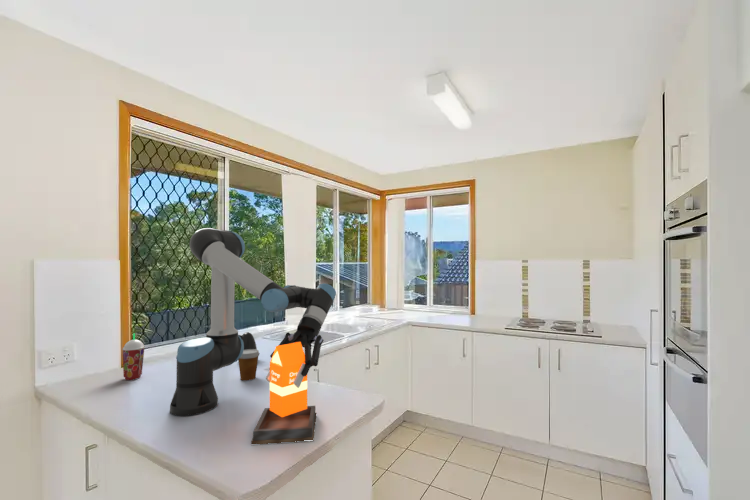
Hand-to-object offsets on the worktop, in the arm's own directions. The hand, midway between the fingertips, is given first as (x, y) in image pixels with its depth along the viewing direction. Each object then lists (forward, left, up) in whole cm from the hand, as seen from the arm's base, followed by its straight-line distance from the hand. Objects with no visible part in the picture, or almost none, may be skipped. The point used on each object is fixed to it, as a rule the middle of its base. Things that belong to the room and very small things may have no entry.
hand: (282, 383), depth 105 cm
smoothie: (-75, +62, -15) cm, 98 cm away
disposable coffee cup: (-23, +55, -15) cm, 61 cm away
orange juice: (+2, +3, -9) cm, 10 cm away
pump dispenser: (-31, +85, -15) cm, 91 cm away
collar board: (+1, +3, -15) cm, 15 cm away
